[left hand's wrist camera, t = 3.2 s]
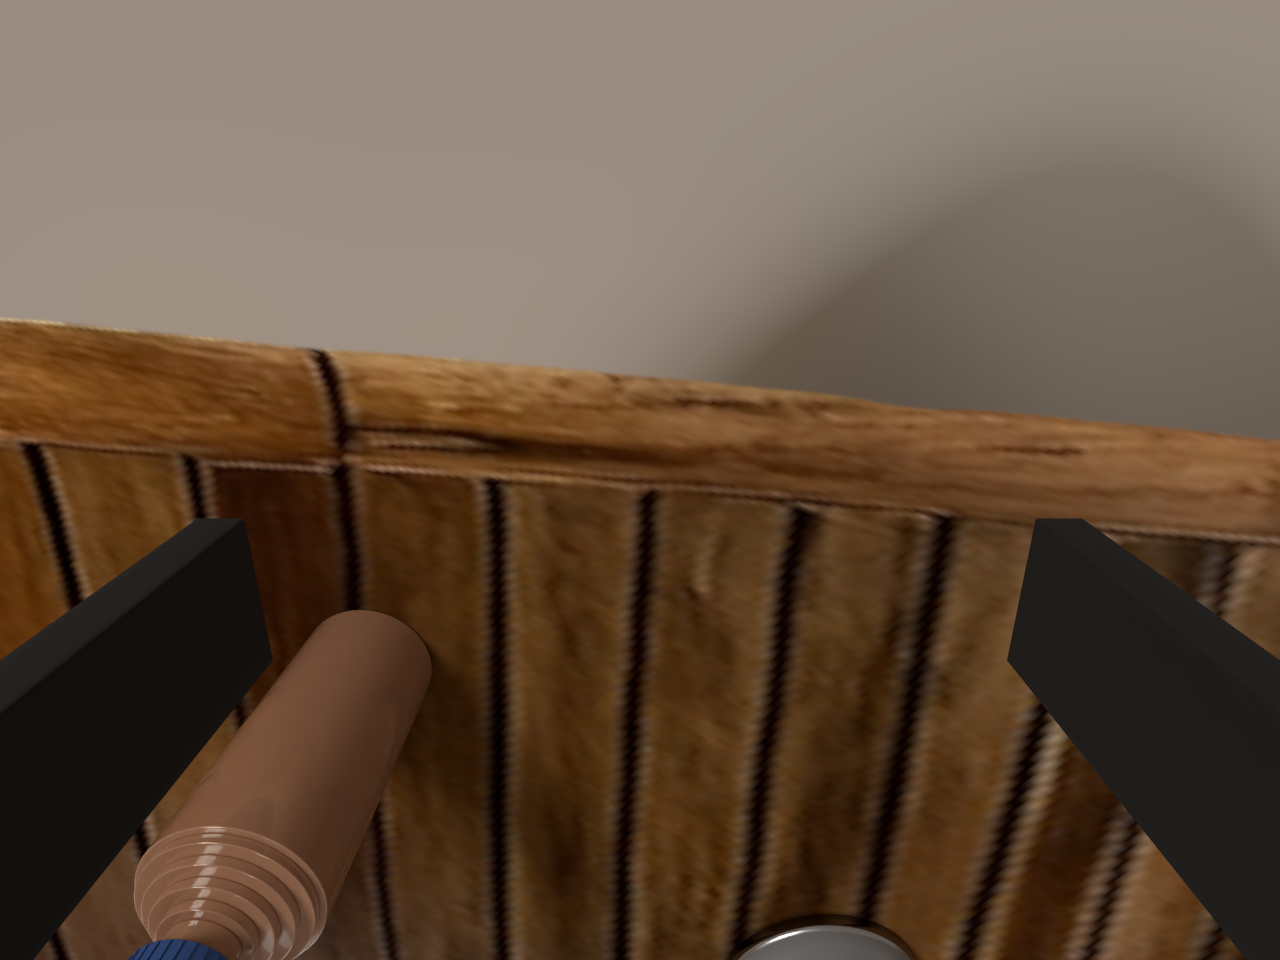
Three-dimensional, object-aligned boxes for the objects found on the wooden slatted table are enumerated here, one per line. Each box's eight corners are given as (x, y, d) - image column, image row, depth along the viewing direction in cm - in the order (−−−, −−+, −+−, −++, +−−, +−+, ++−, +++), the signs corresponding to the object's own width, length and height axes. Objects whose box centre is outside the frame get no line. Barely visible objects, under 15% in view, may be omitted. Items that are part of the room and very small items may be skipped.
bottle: (444, 709, 47) (303, 1076, 27) (325, 722, 48) (100, 1093, 28) (416, 602, 45) (236, 923, 25) (289, 617, 45) (12, 945, 25)
